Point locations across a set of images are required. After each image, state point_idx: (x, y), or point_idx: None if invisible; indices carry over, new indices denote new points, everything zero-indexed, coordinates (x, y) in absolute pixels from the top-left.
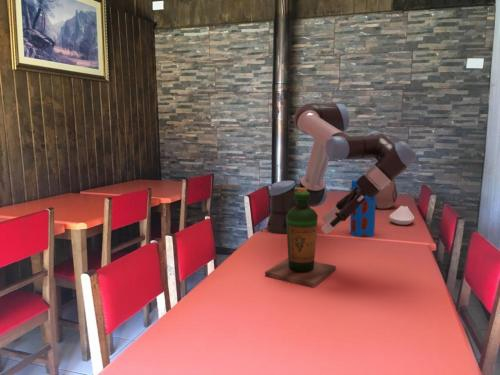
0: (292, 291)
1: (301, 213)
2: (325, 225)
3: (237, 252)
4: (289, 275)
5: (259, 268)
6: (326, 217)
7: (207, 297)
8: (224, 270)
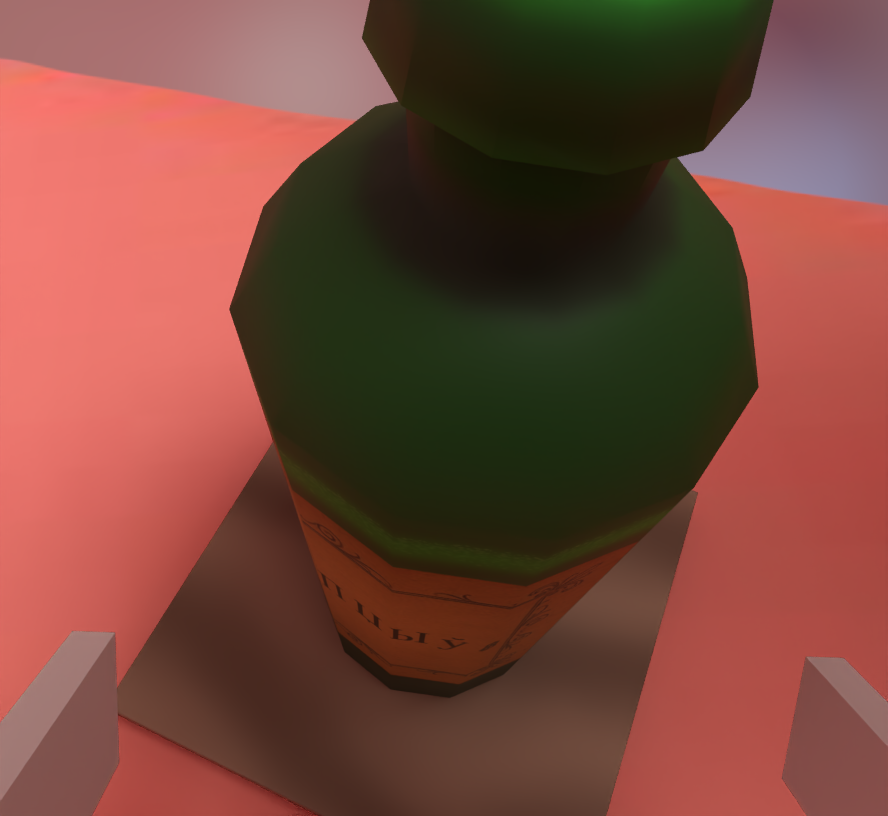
0: (55, 550)
1: (282, 227)
2: (25, 705)
3: (730, 182)
4: (271, 504)
5: None
6: (841, 749)
7: (12, 135)
8: None
